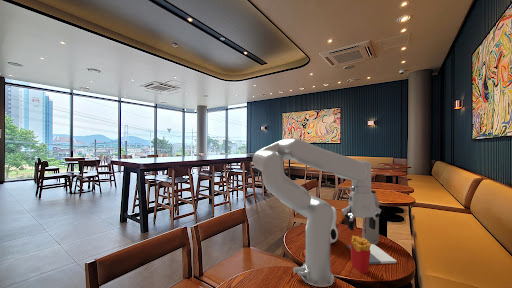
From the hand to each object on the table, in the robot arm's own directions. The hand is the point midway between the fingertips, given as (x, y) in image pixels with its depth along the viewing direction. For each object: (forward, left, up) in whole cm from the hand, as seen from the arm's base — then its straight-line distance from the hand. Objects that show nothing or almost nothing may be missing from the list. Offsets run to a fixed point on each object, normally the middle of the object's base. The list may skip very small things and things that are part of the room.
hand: (361, 228), depth 91 cm
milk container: (-6, +28, -17) cm, 33 cm away
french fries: (0, 0, -17) cm, 17 cm away
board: (+11, +11, -17) cm, 23 cm away
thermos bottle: (+21, +25, -17) cm, 37 cm away
